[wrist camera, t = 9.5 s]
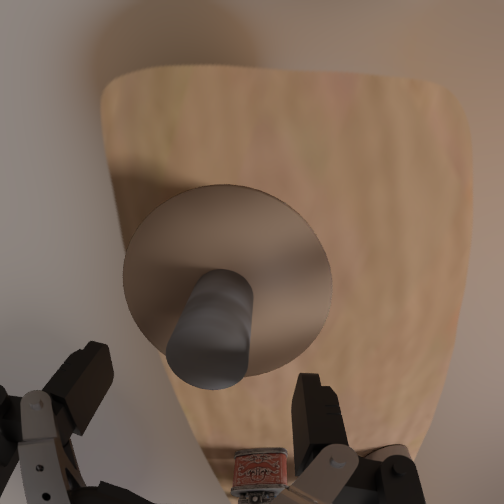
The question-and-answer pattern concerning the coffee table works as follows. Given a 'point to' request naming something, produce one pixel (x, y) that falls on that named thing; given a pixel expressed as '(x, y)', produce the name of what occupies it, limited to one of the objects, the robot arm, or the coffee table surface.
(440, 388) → the coffee table surface
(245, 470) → the lighter
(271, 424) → the coffee table surface
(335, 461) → the robot arm
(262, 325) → the walnut lid
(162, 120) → the coffee table surface
